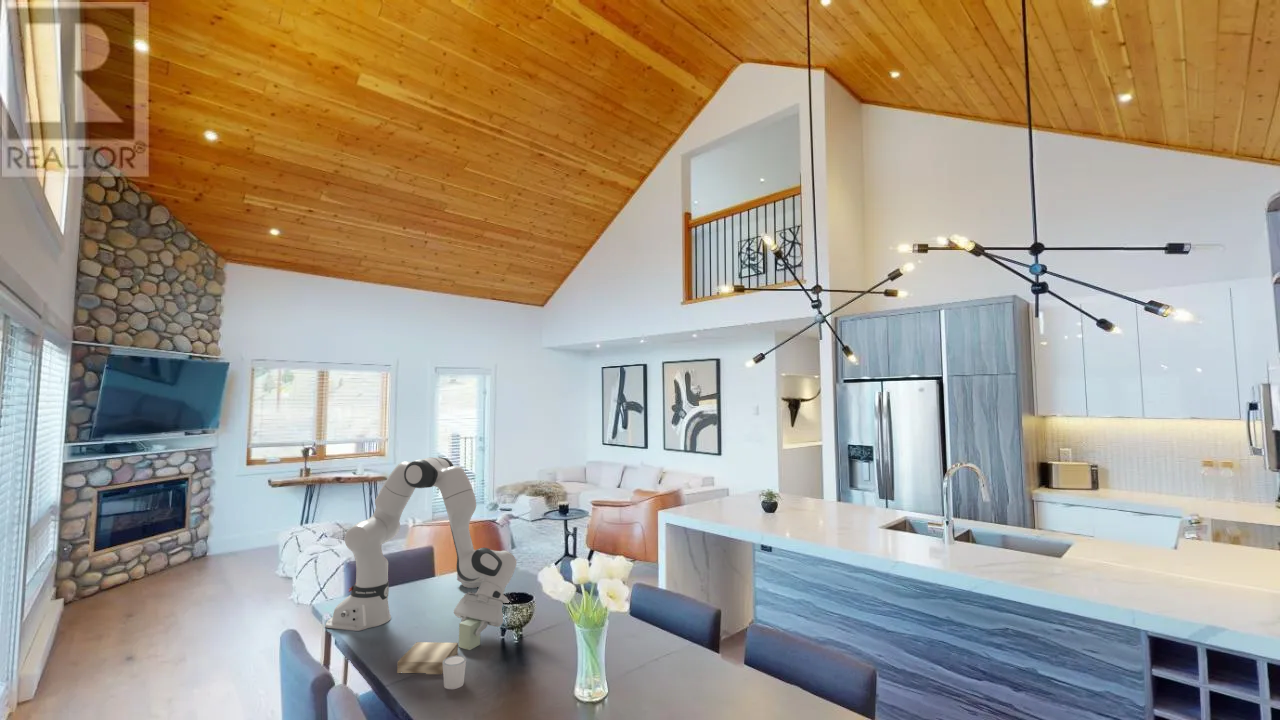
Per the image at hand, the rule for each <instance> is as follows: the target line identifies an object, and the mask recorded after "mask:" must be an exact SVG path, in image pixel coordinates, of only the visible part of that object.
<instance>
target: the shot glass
mask: <svg viewBox="0 0 1280 720" xmlns="http://www.w3.org/2000/svg"><path fill="white" fill-rule="evenodd" d="M466 665H467V657H466V656H464V655H458V654H457V655H456V656H451V657H448V658H446V659H444V660H443V674H442V676H443V687H444V689H447V690H455V689H459V688H461V687H463V686H464V683H465V675H466V674H465V673H466Z"/></svg>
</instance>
